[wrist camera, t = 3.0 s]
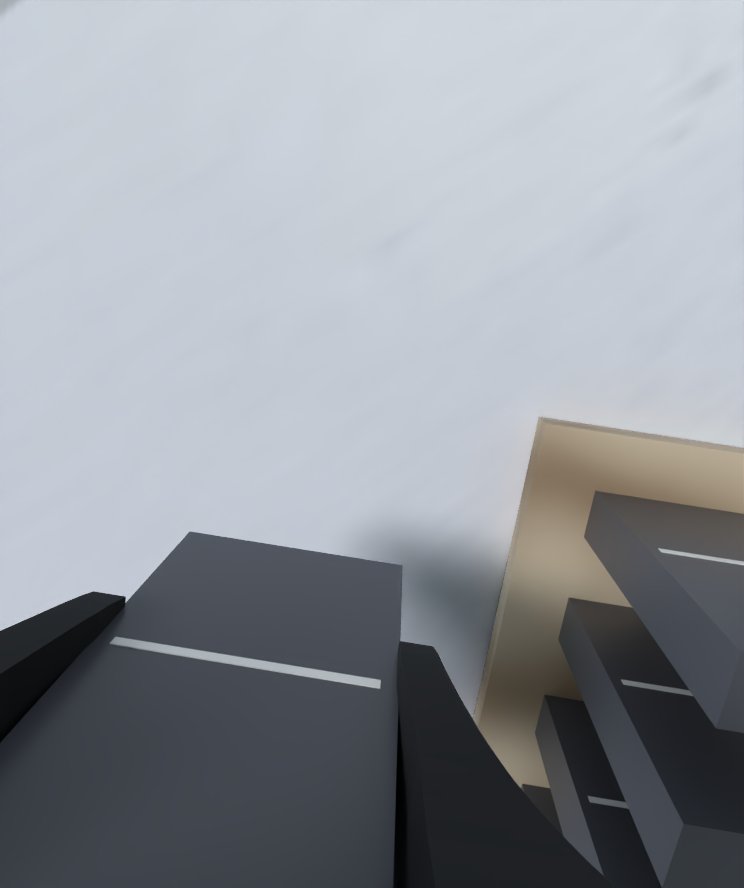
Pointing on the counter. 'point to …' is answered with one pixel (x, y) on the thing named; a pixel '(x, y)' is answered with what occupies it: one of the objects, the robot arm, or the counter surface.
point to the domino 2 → (590, 795)
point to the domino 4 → (660, 747)
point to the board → (576, 562)
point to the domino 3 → (682, 589)
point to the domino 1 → (218, 732)
